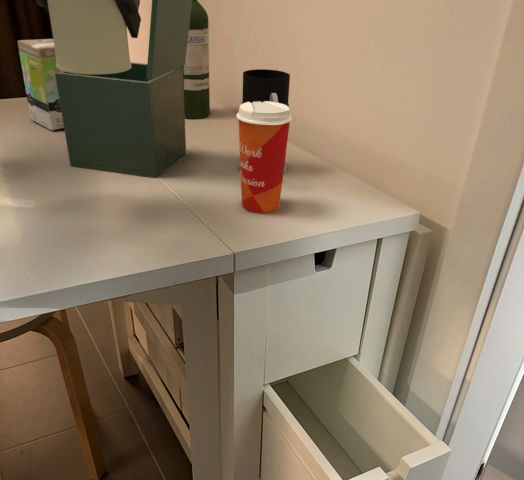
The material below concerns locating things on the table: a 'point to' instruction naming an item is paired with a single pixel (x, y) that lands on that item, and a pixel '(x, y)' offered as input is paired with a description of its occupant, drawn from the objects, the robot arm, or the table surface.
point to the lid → (168, 36)
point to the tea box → (41, 81)
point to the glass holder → (266, 88)
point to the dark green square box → (123, 120)
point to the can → (89, 36)
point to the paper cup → (262, 153)
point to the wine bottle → (197, 65)
